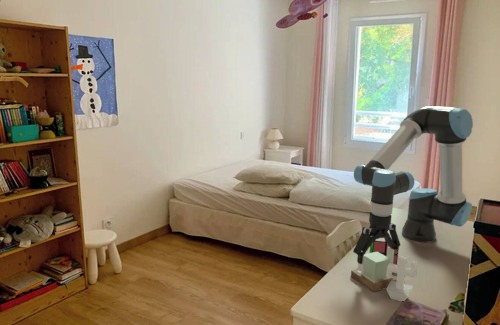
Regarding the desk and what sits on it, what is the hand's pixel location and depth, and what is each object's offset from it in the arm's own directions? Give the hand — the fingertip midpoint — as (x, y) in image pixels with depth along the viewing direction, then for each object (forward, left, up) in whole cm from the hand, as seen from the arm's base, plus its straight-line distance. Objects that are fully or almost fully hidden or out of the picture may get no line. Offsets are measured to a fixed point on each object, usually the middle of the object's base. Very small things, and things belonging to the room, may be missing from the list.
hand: (375, 267), depth 149 cm
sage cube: (0, 0, -3) cm, 3 cm away
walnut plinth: (0, 0, -5) cm, 5 cm away
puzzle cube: (-16, -12, -6) cm, 21 cm away
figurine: (0, +12, -6) cm, 14 cm away
